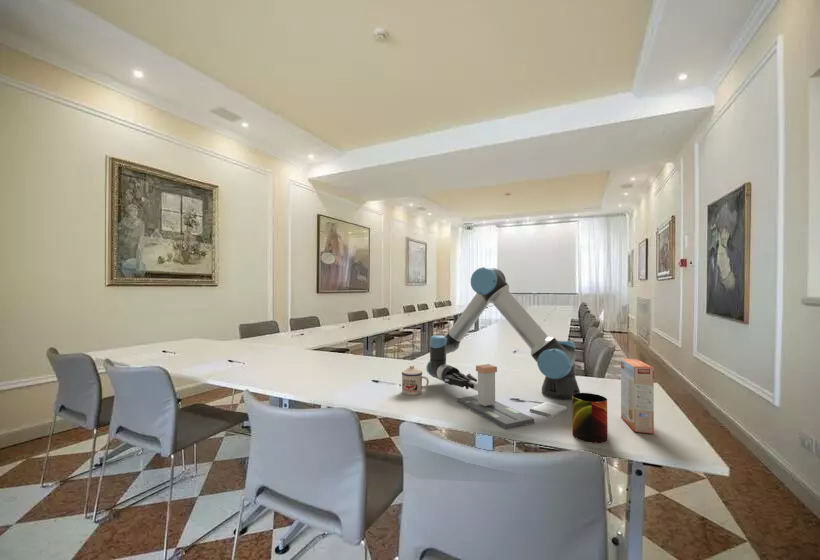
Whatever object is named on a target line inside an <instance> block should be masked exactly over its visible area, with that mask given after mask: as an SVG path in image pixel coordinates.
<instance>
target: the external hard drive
mask: <svg viewBox="0 0 820 560" xmlns="http://www.w3.org/2000/svg"><path fill="white" fill-rule="evenodd" d="M565 409H566V410H567V406H565V405H561V404H557V403H555V402H554V403H553V402H549V401H545V402H543V403H540V404H538V405H536V406H534V407H531V408H529V412H530V411H532V412H531V413H534V412H535V414H538V413H539V415H541V414H543V415H542V416H545V415H547V416H546V417H549V416H550V417H549V418H553V417H554V416H557V415H558V414H560V413H562V412H564V411H566V410H565ZM563 410H564V411H563ZM557 413H558V414H557ZM552 416H553V417H552Z"/></svg>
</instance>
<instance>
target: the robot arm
mask: <svg viewBox="0 0 820 560" xmlns="http://www.w3.org/2000/svg"><path fill="white" fill-rule="evenodd" d="M506 281H507V280H506V276H505V274H504V273H503V271H502V270H501V269H498V268H495V267H494V268H493V267H490V266H483V267H478V268H477V269H476V270H474V271H473V272H472V275H471V277H470V286H471V289H472V290H473V291H474V293H475V295H474V296H473V298H472V299H471V300H470V302H469V303H468V305H467V306H466V307H465V309H464V310H462V313H461V314H460V316H459V317H458V319H456V321H455V322H454V324H453V326H452V327H451V328H450V329H449V330H448V332H447V334H445V336H444V335H440V334H439V335H432V336H430V340H429V361H428V362H427V365H426V369H425V370H426V372H427V374H429V375H430V376H431V377H433V378H436V379H438V380H440V381H442V382H444V383H445V384H448V385H451V386H456V387H460V388H464V387H465V389H466V390H469V389H471V390H474V391H477V392H478V378H476V377H475V376H473V375H471V373H468V374H466V375H465V374H464V373H462V372H460V370H459V369H458V368H457V367H454V366H452V365H449V364H447V354H450V353H453V352H455V351H457V350H458V349H459V348H460V343H461V342H462V340H463V339H464V338H465V336H466V335H467V334H468V333H469V331H470V330H471V328H473V326H474V324H475V323H476V322H477V321H478V320H479V318H480V317H481V315H482V314H483V312H485V310H486V309H487V307H488V305H490V304H492V305H493V306H494V307H495V308H496V310H498V312H499V313H500V314H501V315H502V317H503V318H505V320H506V322H508V324H509V325H510V326H511V327H512V328H513V330H514V331H515V332H516V334H518V336H519V337H520V338H521V339H522V340H523V342H524V343H526V345H527V347H529V349H530V356H531V357H532V359H534V361H535V362H536V364H537V367H538V369H539V371H540V373H541V374H542V375H544V376H545V378H544V379H543V383H542V385H541V394H542V395H543V396H545V397H548V398H551V399H555V400H556V399H557V400H563V401H564V400H565V401H567V400H569V401H572V395H573V394H575V393H581V390H580V387H579V384H578V381H577V378H576V350H577V349H576V344H575V342H573V341H569V340H568V341H567V340H557V339H556V337H554V336H549V335H548V334H547V333H546V332H545V331H544V330H543V328H541V326H540V325H539V324H538V322H536V320H535V319H534V318H533V317H532V316H531V315H530V314H529V313H528V311H527V310H526V309H525V308H524V307H523V305H521V303H520V302H519V301H518V300H517V298H515V296H514V295H513V294H512V293H511V291H510V285H509V284H508V283H507V282H506Z"/></svg>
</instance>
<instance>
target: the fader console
mask: <svg viewBox="0 0 820 560" xmlns="http://www.w3.org/2000/svg"><path fill="white" fill-rule="evenodd" d="M455 402H456V403H457V404H459V405H461V406H462V407H465V408H466V407H467V408H466V409H468V408H469V409H468V410H470V409H471V411H472V410H473V412H474V413H476V414H478V415H479V414H480V416H481V415H482V417H483V416H484V417H483V418H485V419H487V420H489V421H491V422H492V421H493V422H492V423H494V424H497V425H498V426H500V427H502V428H504V429H505V430H508V429H513V428H517V427H522V426H527V425H531V424H535V418H534V417H532V416H530V415H527V414H525V413H523V412H521V411H519V410H516V409H514V408H512V407H510V406H508V405H505V404H503V403H501V402H499V401H497V400H495V404H493V405H488V406H483V405H481V404H479V403H478V394H477V395H469V396H463V397H456V401H455Z"/></svg>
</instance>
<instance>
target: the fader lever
mask: <svg viewBox="0 0 820 560" xmlns="http://www.w3.org/2000/svg"><path fill="white" fill-rule="evenodd" d="M475 372H477V382H478V391H477V395H478V403H479V404H481V405H483V406H488V405H493V404H495V401H496V373H498V367H497V366H496V365H492V364H489V363H488V364H479V365H477V364H476V365H475Z"/></svg>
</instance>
